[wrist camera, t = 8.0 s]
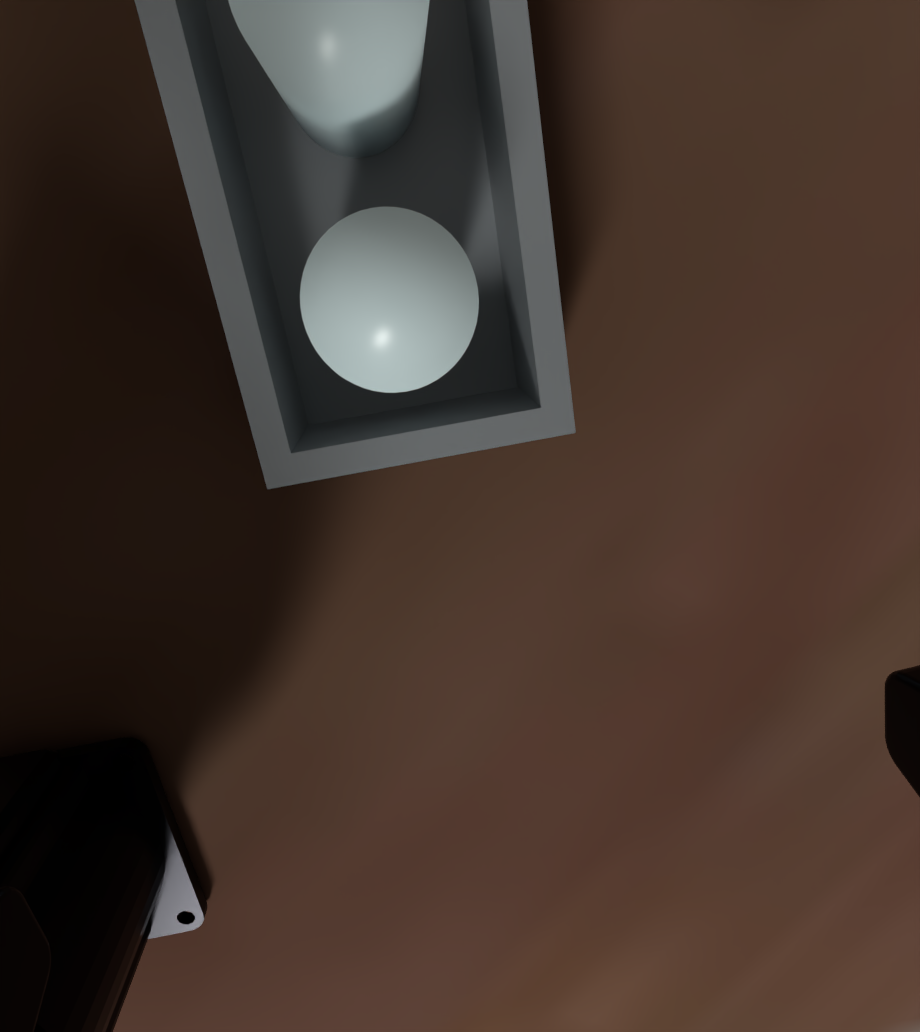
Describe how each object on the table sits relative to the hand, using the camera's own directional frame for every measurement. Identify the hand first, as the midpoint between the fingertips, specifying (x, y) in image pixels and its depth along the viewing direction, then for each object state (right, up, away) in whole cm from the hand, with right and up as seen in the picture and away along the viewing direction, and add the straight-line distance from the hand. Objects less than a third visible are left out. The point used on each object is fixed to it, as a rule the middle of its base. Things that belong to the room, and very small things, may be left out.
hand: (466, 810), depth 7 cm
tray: (-2, +12, +7) cm, 14 cm away
